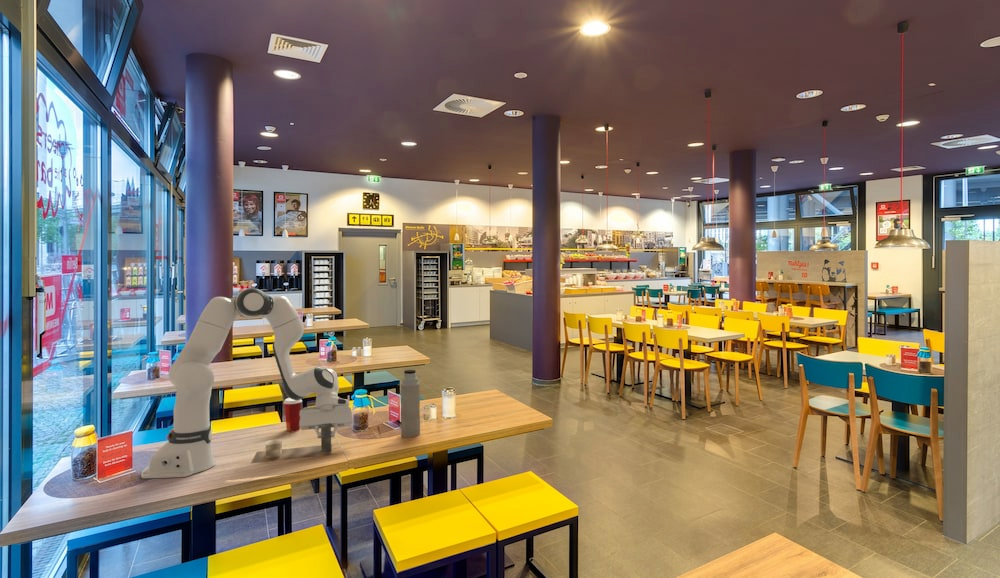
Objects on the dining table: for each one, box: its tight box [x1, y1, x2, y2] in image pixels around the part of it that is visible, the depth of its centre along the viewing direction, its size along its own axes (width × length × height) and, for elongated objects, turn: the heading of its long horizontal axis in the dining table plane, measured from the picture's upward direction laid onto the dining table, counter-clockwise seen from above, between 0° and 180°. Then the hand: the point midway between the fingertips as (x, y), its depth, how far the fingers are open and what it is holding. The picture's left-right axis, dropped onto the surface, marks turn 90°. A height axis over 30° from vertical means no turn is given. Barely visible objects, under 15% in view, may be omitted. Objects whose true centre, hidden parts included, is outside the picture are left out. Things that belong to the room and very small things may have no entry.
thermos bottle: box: [400, 369, 421, 438], centre depth 217 cm, size 8×8×28 cm
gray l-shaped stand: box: [250, 423, 333, 464], centre depth 193 cm, size 28×12×11 cm, turn 106°
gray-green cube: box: [265, 439, 283, 458], centre depth 191 cm, size 5×5×5 cm
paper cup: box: [283, 397, 303, 432], centre depth 224 cm, size 8×8×14 cm
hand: (326, 436), depth 196 cm, fingers closed on gray l-shaped stand, 3 cm apart
